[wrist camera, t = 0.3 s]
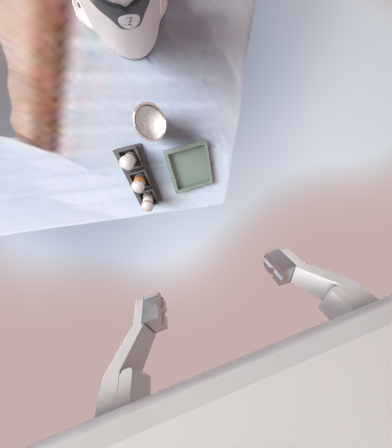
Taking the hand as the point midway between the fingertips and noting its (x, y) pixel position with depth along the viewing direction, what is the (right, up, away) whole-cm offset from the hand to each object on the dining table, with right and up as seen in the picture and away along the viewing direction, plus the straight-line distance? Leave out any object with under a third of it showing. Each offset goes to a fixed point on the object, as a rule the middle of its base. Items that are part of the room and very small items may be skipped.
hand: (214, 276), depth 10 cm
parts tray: (-4, +24, +39) cm, 46 cm away
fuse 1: (-21, +24, +33) cm, 46 cm away
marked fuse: (-20, +19, +37) cm, 46 cm away
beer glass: (-14, +33, +31) cm, 47 cm away
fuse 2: (-19, +14, +40) cm, 47 cm away
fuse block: (-20, +20, +37) cm, 47 cm away
